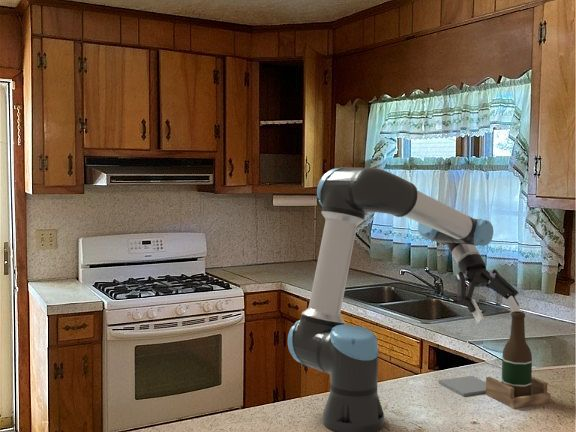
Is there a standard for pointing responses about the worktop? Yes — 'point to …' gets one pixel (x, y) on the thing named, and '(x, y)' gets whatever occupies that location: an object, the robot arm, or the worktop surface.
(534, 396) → the cradle
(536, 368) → the worktop surface
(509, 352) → the beer bottle
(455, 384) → the coaster
